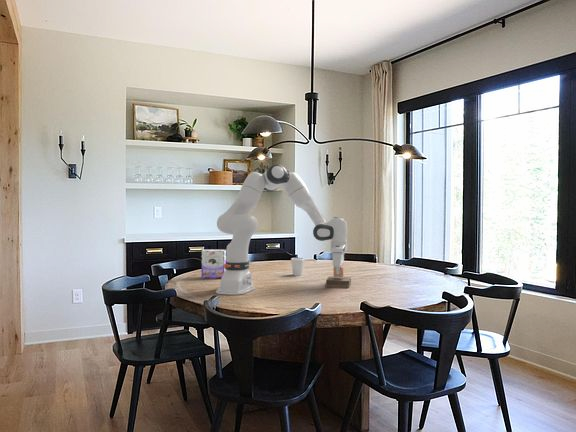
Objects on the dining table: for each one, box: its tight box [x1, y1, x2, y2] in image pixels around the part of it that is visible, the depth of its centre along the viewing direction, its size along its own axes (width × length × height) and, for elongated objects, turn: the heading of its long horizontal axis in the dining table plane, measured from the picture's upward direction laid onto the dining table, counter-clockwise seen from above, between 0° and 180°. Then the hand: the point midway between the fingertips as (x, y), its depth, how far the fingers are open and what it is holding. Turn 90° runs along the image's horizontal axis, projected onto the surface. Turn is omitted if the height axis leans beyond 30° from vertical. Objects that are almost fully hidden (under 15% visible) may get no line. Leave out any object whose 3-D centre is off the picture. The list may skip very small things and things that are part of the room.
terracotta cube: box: [333, 265, 345, 277], centre depth 251 cm, size 5×5×5 cm
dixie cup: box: [290, 257, 305, 277], centre depth 284 cm, size 8×8×10 cm
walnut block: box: [325, 275, 352, 289], centre depth 252 cm, size 12×12×4 cm
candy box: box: [200, 249, 227, 279], centre depth 274 cm, size 14×6×16 cm, turn 84°
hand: (338, 273), depth 252 cm, fingers closed on terracotta cube, 5 cm apart
